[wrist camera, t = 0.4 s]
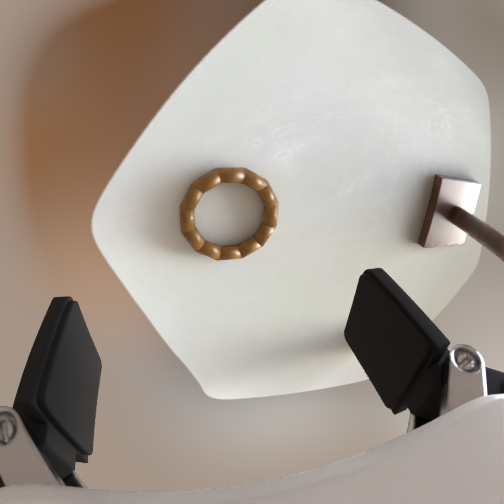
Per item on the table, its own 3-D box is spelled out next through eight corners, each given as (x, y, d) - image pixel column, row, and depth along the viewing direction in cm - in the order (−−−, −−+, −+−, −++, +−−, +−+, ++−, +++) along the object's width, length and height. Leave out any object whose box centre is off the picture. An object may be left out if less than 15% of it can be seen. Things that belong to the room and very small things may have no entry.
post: (435, 174, 29) (509, 215, 19) (475, 180, 31) (537, 217, 21) (417, 243, 33) (477, 295, 24) (458, 240, 35) (511, 283, 26)
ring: (178, 168, 23) (178, 172, 22) (278, 166, 25) (283, 169, 24) (182, 258, 27) (183, 265, 26) (271, 252, 29) (275, 258, 28)
